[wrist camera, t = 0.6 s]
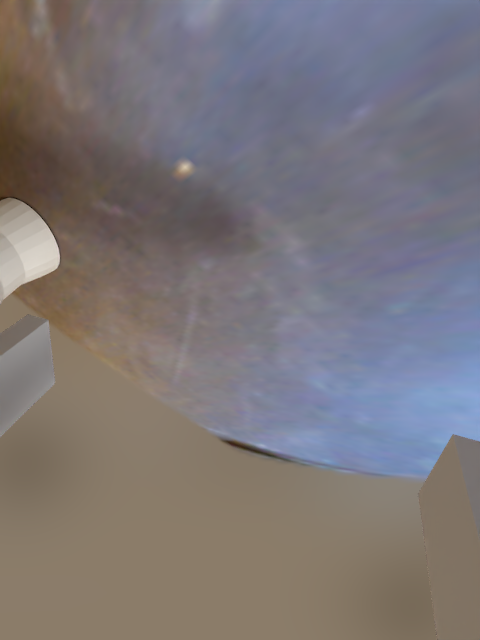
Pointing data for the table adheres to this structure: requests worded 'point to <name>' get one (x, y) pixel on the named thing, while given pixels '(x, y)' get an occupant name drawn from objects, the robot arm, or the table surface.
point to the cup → (24, 246)
